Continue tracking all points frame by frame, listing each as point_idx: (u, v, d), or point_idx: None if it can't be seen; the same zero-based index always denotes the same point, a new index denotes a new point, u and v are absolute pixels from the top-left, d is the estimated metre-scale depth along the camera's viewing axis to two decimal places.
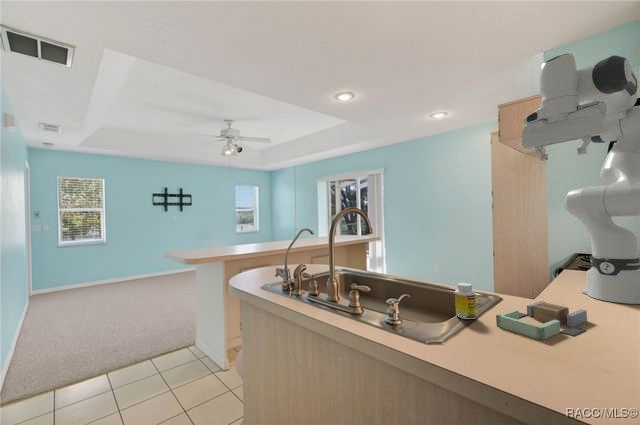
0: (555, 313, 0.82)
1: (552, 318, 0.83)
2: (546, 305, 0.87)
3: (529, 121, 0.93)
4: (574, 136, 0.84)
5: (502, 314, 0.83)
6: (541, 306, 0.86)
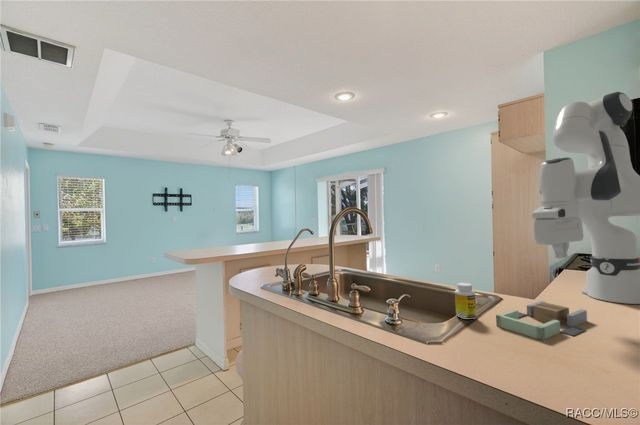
0: (554, 313, 0.82)
1: (551, 318, 0.83)
2: (546, 305, 0.87)
3: (559, 217, 0.83)
4: (574, 240, 0.89)
5: (502, 314, 0.83)
6: (541, 306, 0.86)
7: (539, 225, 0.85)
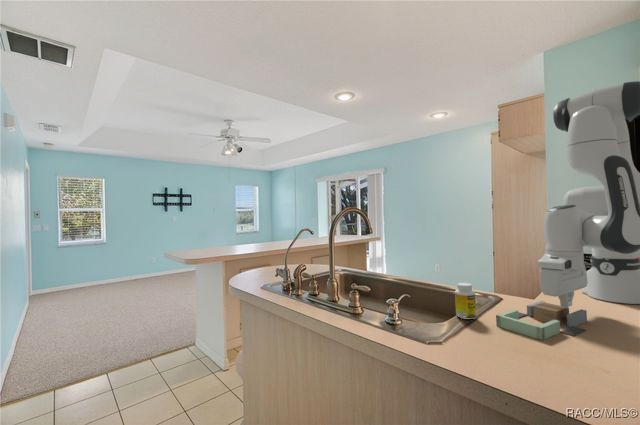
0: (554, 313, 0.82)
1: (551, 318, 0.83)
2: (546, 305, 0.87)
3: (566, 268, 0.82)
4: (578, 288, 0.88)
5: (502, 314, 0.83)
6: (541, 306, 0.86)
7: (545, 276, 0.84)
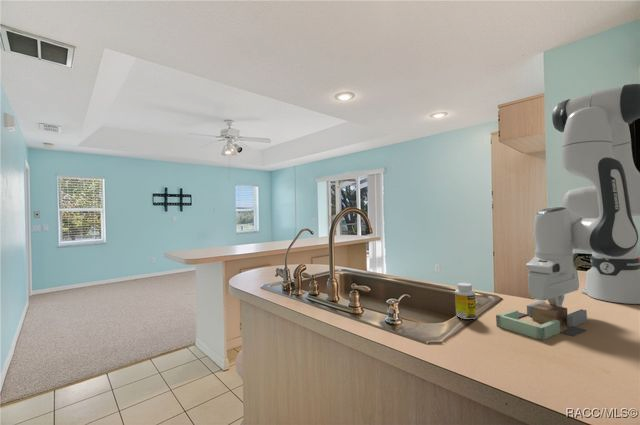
0: (553, 314, 0.81)
1: (550, 319, 0.82)
2: (545, 305, 0.86)
3: (554, 272, 0.81)
4: (569, 291, 0.87)
5: (502, 314, 0.83)
6: (539, 306, 0.85)
7: (533, 279, 0.83)
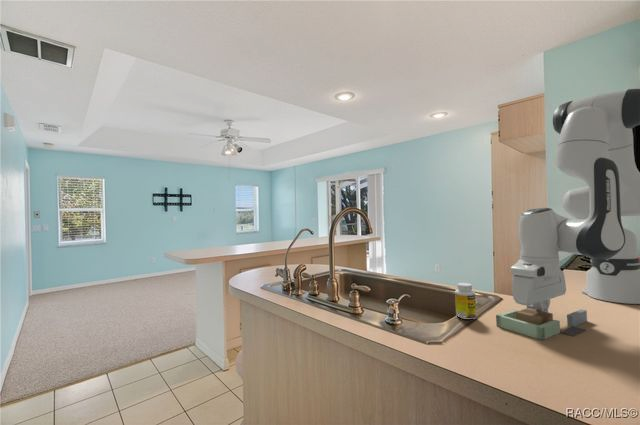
0: (537, 320, 0.77)
1: None
2: (529, 310, 0.83)
3: (539, 276, 0.78)
4: (555, 296, 0.84)
5: (502, 314, 0.83)
6: (524, 312, 0.82)
7: (517, 283, 0.80)
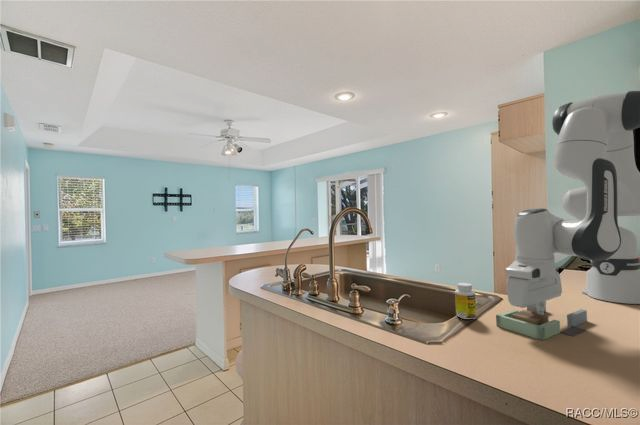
0: (533, 322, 0.76)
1: None
2: (525, 313, 0.81)
3: (534, 277, 0.77)
4: (551, 298, 0.83)
5: (502, 314, 0.83)
6: (519, 314, 0.81)
7: (512, 285, 0.79)
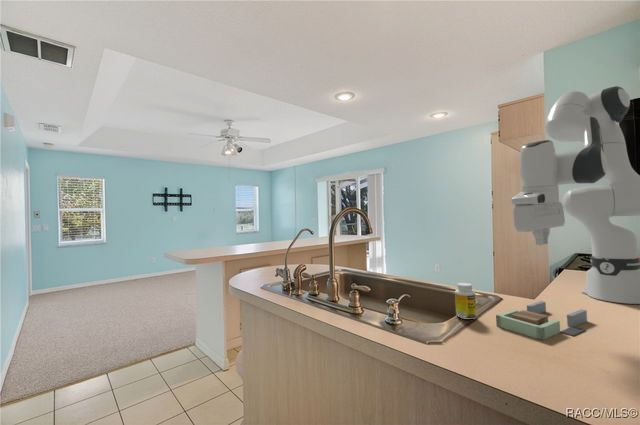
0: (534, 322, 0.76)
1: None
2: (525, 313, 0.81)
3: (539, 202, 0.80)
4: (554, 226, 0.86)
5: (502, 314, 0.83)
6: (520, 314, 0.80)
7: (519, 211, 0.82)
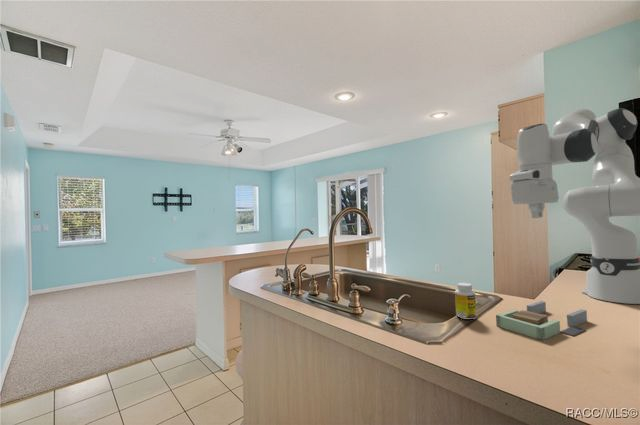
0: (534, 322, 0.76)
1: None
2: (525, 313, 0.81)
3: (534, 177, 0.90)
4: (549, 201, 0.96)
5: (502, 314, 0.83)
6: (520, 314, 0.80)
7: (516, 186, 0.92)
